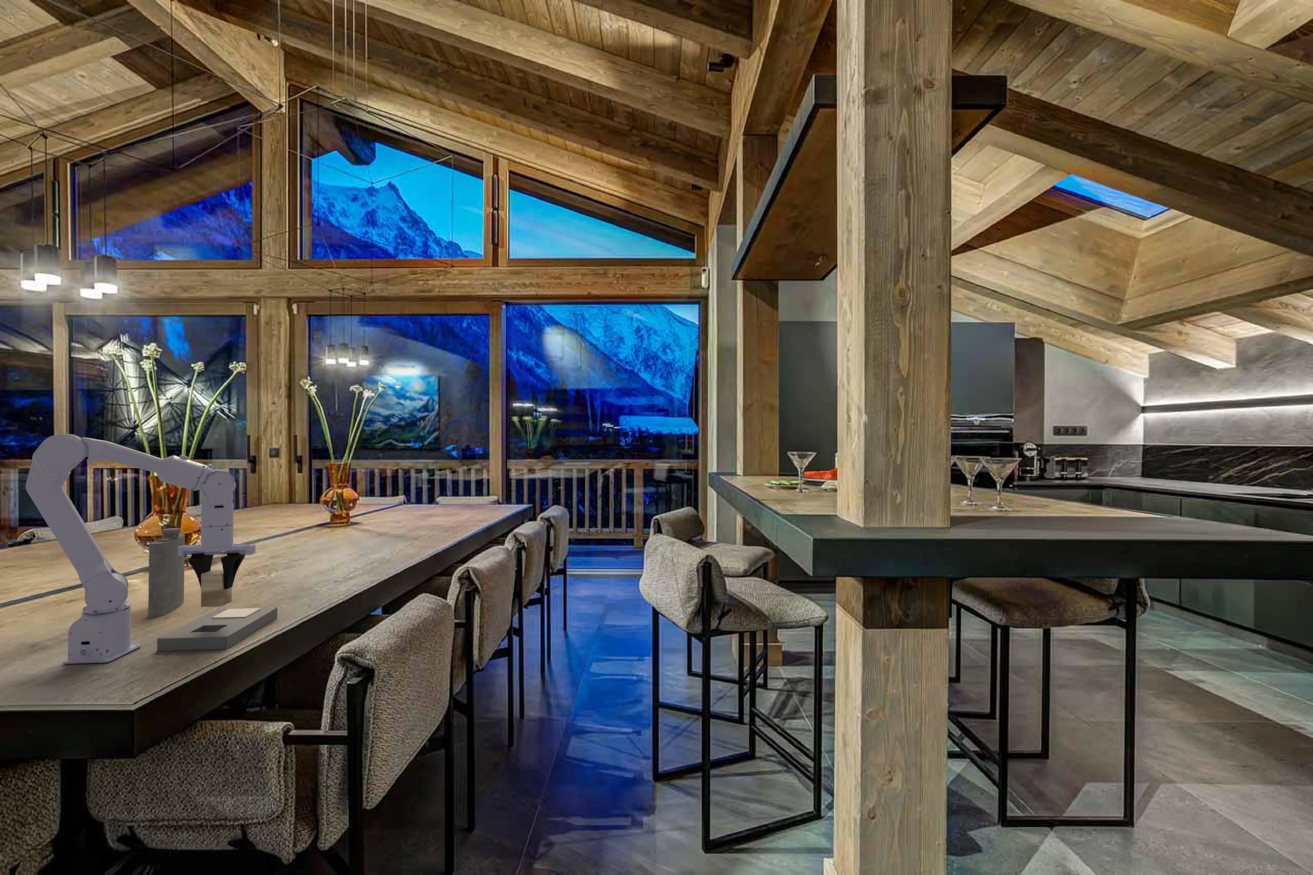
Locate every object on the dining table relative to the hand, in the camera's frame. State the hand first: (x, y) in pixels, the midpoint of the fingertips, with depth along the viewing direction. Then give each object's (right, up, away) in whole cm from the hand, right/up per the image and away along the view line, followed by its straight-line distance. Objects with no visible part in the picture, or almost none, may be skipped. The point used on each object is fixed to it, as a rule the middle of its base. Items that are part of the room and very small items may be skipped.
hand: (216, 588), depth 135 cm
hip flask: (-27, -10, +21) cm, 36 cm away
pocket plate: (-1, -10, +2) cm, 11 cm away
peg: (0, -4, 0) cm, 4 cm away
